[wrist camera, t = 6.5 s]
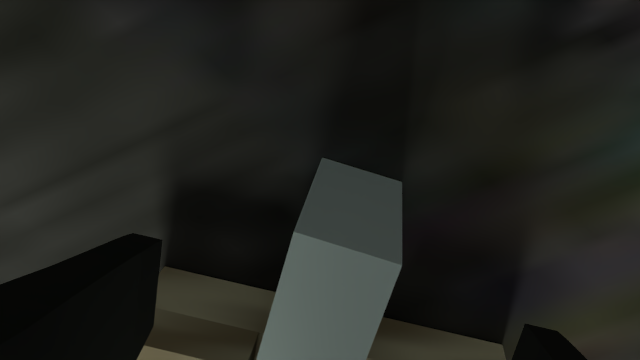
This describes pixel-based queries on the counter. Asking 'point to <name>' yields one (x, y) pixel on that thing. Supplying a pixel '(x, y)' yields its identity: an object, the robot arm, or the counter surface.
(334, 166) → the notched plate
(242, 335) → the birch board
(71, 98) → the counter surface
